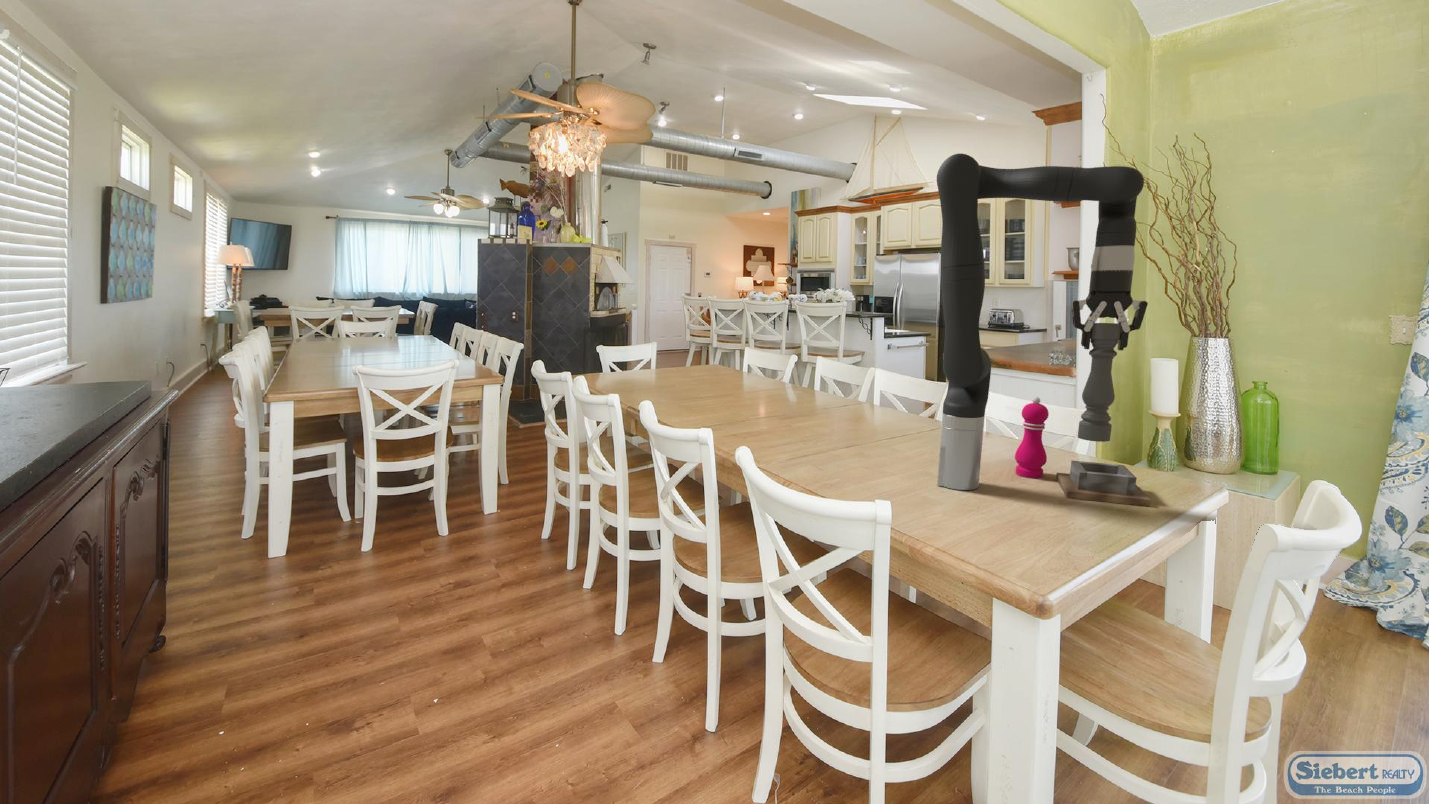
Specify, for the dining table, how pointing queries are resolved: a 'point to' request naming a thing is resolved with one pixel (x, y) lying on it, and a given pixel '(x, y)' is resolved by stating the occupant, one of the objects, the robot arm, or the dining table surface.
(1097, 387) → the candle holder
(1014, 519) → the dining table surface
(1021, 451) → the pepper mill
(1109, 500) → the socket board
